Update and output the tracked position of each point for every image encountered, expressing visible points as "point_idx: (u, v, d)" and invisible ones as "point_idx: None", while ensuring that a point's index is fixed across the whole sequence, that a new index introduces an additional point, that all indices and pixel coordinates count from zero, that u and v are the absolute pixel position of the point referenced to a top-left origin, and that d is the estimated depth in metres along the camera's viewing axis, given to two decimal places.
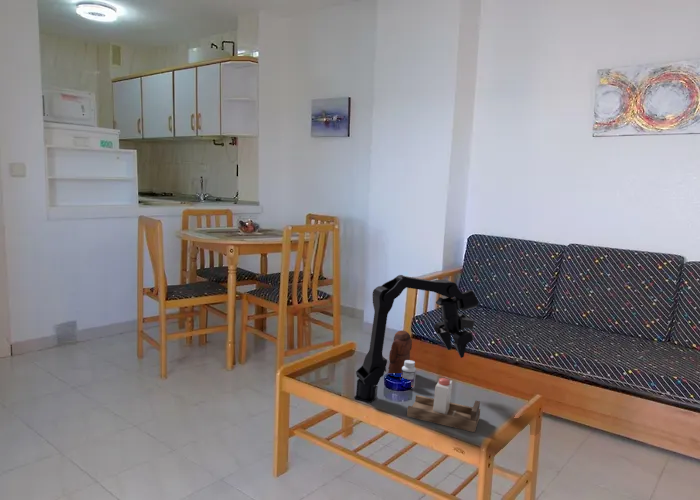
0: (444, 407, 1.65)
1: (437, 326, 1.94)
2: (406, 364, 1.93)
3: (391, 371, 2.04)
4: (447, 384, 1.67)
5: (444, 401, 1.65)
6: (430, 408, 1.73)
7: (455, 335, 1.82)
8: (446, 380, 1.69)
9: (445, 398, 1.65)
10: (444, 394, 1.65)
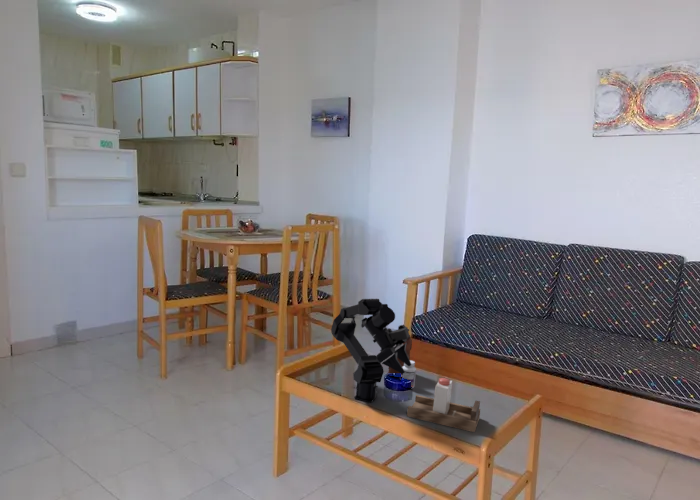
0: (444, 407, 1.65)
1: None
2: None
3: (391, 371, 2.04)
4: (447, 384, 1.67)
5: (444, 401, 1.65)
6: (430, 408, 1.73)
7: None
8: (446, 380, 1.69)
9: (445, 398, 1.65)
10: (444, 394, 1.65)
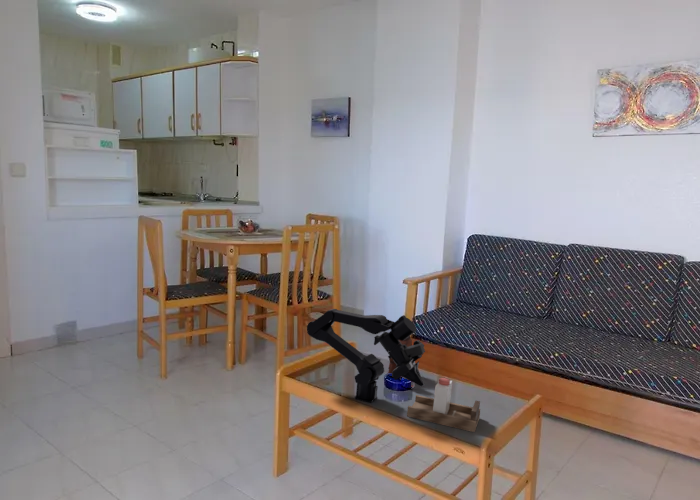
0: (444, 407, 1.65)
1: None
2: None
3: (391, 371, 2.04)
4: (447, 384, 1.67)
5: (444, 401, 1.65)
6: (430, 408, 1.73)
7: None
8: (446, 380, 1.69)
9: (445, 398, 1.65)
10: (444, 394, 1.65)
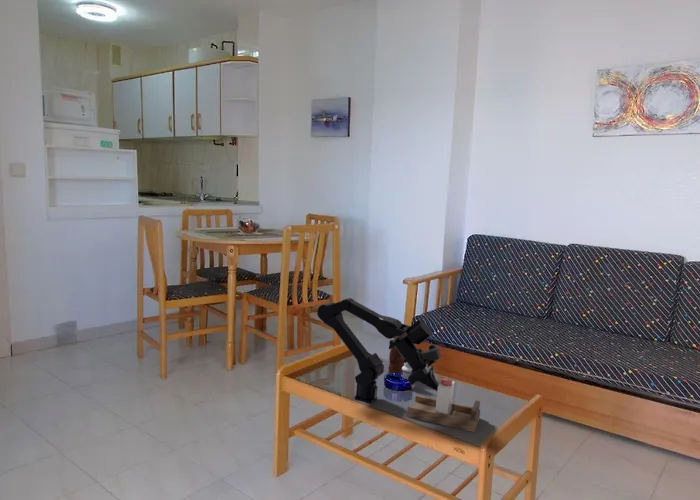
0: (446, 408, 1.65)
1: None
2: (406, 364, 1.93)
3: (391, 371, 2.04)
4: (449, 384, 1.67)
5: (446, 402, 1.65)
6: (430, 408, 1.73)
7: None
8: (448, 380, 1.68)
9: (447, 399, 1.65)
10: (446, 395, 1.65)
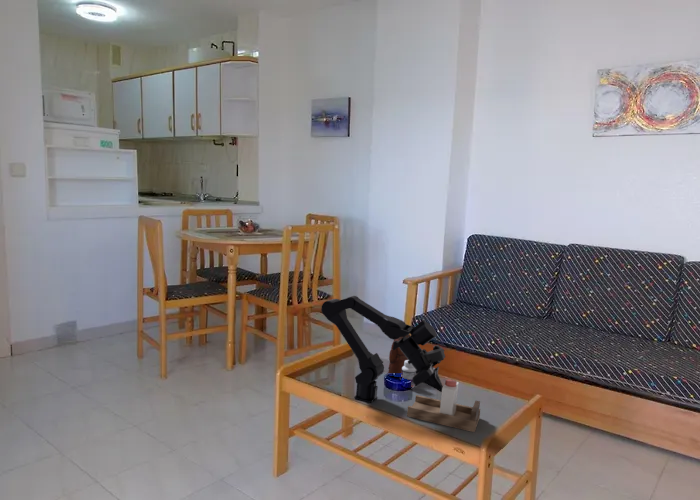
0: (451, 409, 1.64)
1: None
2: (406, 364, 1.93)
3: (391, 371, 2.04)
4: (454, 385, 1.67)
5: (451, 403, 1.64)
6: (430, 408, 1.73)
7: None
8: (453, 381, 1.68)
9: (452, 399, 1.64)
10: (451, 395, 1.64)
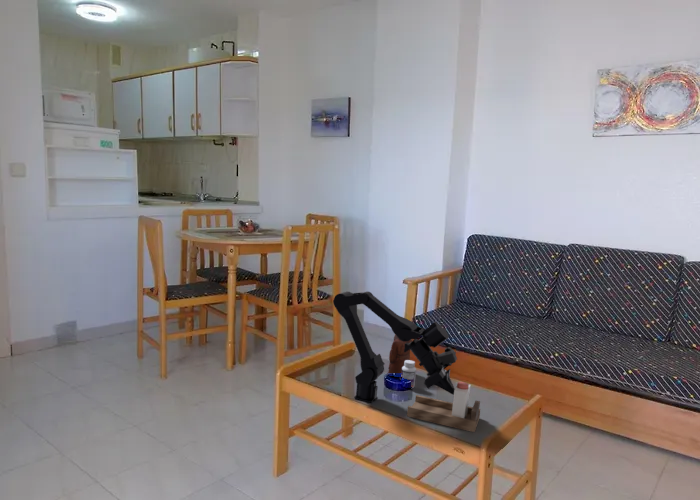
0: (463, 411, 1.63)
1: None
2: (406, 364, 1.93)
3: (391, 371, 2.04)
4: (466, 388, 1.65)
5: (463, 405, 1.63)
6: (430, 408, 1.73)
7: None
8: (465, 384, 1.66)
9: (464, 402, 1.63)
10: (463, 398, 1.63)
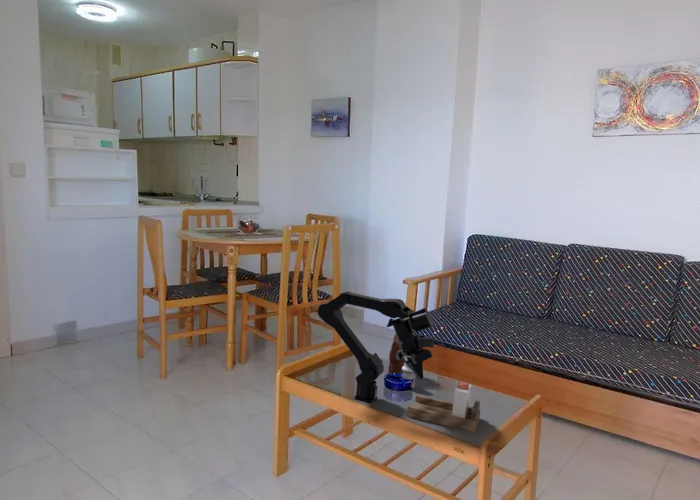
0: (464, 411, 1.63)
1: (397, 353, 1.79)
2: None
3: (391, 371, 2.04)
4: (466, 388, 1.65)
5: (464, 405, 1.63)
6: (430, 408, 1.73)
7: (412, 355, 1.67)
8: (465, 384, 1.66)
9: (465, 402, 1.63)
10: (464, 398, 1.63)
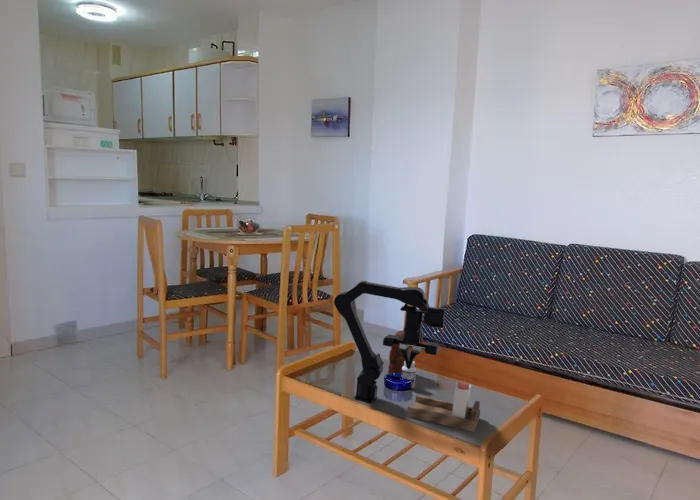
0: (464, 411, 1.63)
1: (390, 340, 1.75)
2: None
3: (391, 371, 2.04)
4: (466, 388, 1.65)
5: (464, 405, 1.63)
6: (430, 408, 1.73)
7: (428, 346, 1.71)
8: (465, 384, 1.66)
9: (465, 402, 1.63)
10: (464, 398, 1.63)
